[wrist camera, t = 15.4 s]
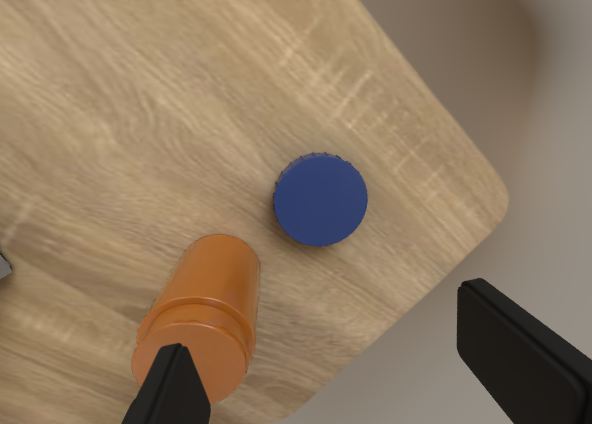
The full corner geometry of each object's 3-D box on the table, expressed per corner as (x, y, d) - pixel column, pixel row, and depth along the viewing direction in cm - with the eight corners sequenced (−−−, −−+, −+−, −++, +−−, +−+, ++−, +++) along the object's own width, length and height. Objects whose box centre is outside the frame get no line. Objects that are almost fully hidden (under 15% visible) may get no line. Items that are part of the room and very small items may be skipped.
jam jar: (262, 299, 24) (257, 407, 15) (186, 304, 24) (136, 418, 15) (258, 232, 22) (249, 312, 13) (175, 235, 22) (108, 321, 13)
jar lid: (271, 153, 20) (271, 156, 19) (364, 151, 21) (372, 154, 19) (274, 239, 22) (275, 249, 21) (358, 235, 23) (364, 244, 21)
